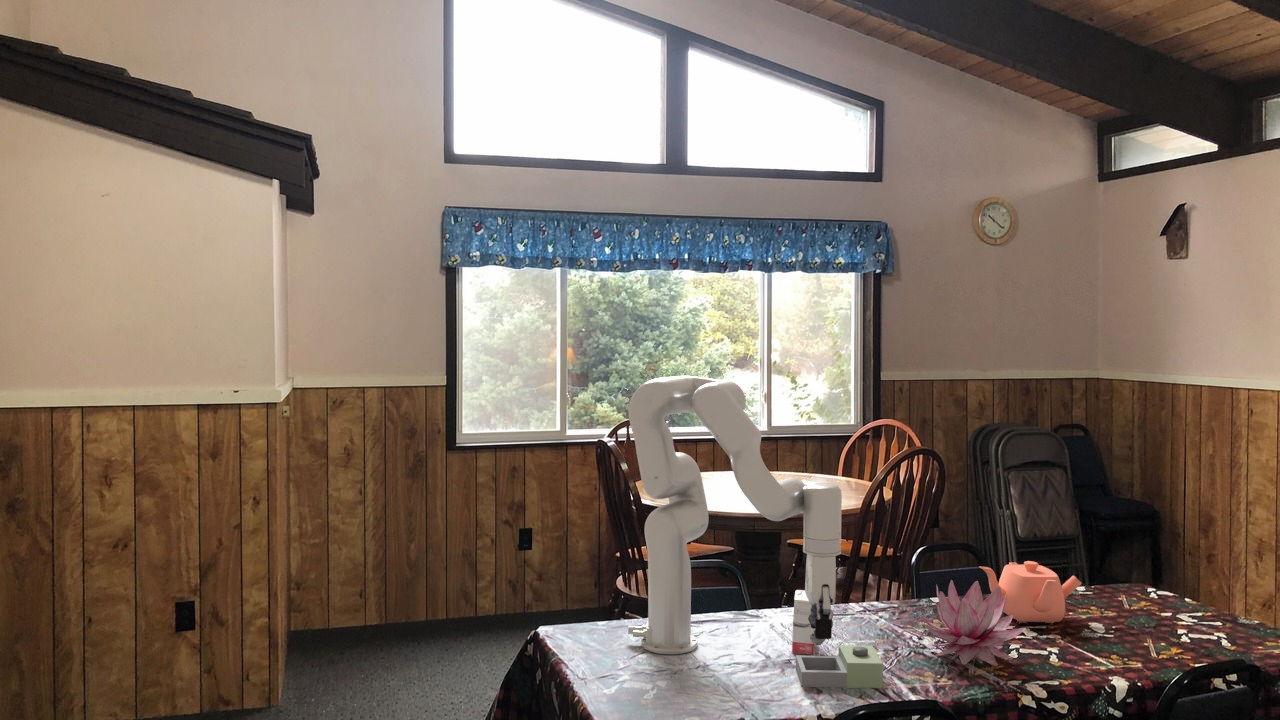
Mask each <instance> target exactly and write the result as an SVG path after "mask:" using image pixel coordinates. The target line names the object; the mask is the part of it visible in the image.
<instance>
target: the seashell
mask: <svg viewBox="0 0 1280 720" xmlns="http://www.w3.org/2000/svg"><path fill="white" fill-rule="evenodd" d="M819 603H823V600H819ZM821 609H823V607H820V610H821ZM810 611H811V614H810V615H809V617H808V620H809V622H810V624H812V625H814V626H815V618H817V606H816V603H815V604H814V605H813V606H812V607H811V610H810ZM834 615H835V614H834V611H833V610H832V608H831V619H832V627H833V626H834V621H833V618H834ZM810 639H811V641H812V642H813V643H814V645H816V646H821V645H822V644H823V643H825V641H826V639H816V637H815V631H814V634H813V633H812V634H811V635H810Z"/></svg>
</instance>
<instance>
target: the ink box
mask: <svg viewBox="0 0 1280 720" xmlns="http://www.w3.org/2000/svg"><path fill="white" fill-rule="evenodd" d="M793 600H794V601H793V602H794V603H793V614H792V615H793V618H792V638H791V639H792V640H791V644H792V645H791V654H797V655H798V654H799V655H800V654H801V655H802V654H803V655H810V656H814V654H815V644H814V643H813V642H812V641H811V639H810V635H811V634H812V633H813V634H814V631H815V629H813V628H811V624H810V622H809V620H808V617H809V615H810V614H811V611H810V610H811V607H812V605H811V603H810V602H809V600H808V598H807V596H806V593H805V589H804V590H803V589H796V590H795V592H794V597H793Z"/></svg>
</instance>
